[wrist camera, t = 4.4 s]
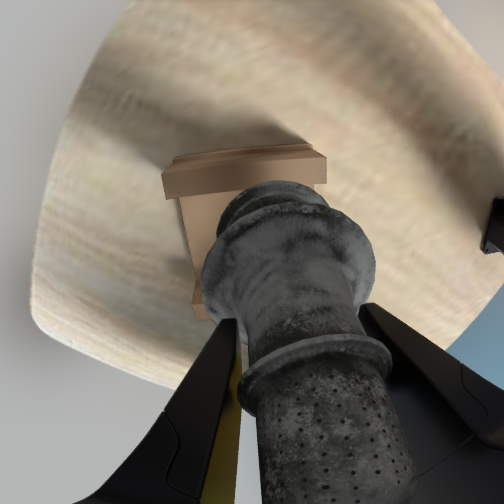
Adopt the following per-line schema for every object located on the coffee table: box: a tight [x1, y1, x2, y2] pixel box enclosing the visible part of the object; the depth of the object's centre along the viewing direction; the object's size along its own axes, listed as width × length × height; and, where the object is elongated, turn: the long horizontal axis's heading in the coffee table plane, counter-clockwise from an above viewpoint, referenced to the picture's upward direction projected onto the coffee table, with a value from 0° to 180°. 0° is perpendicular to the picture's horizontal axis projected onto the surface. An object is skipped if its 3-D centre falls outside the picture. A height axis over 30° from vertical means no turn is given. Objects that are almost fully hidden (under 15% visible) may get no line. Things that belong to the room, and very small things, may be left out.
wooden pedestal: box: [161, 143, 327, 321], centre depth 19 cm, size 9×11×4 cm
